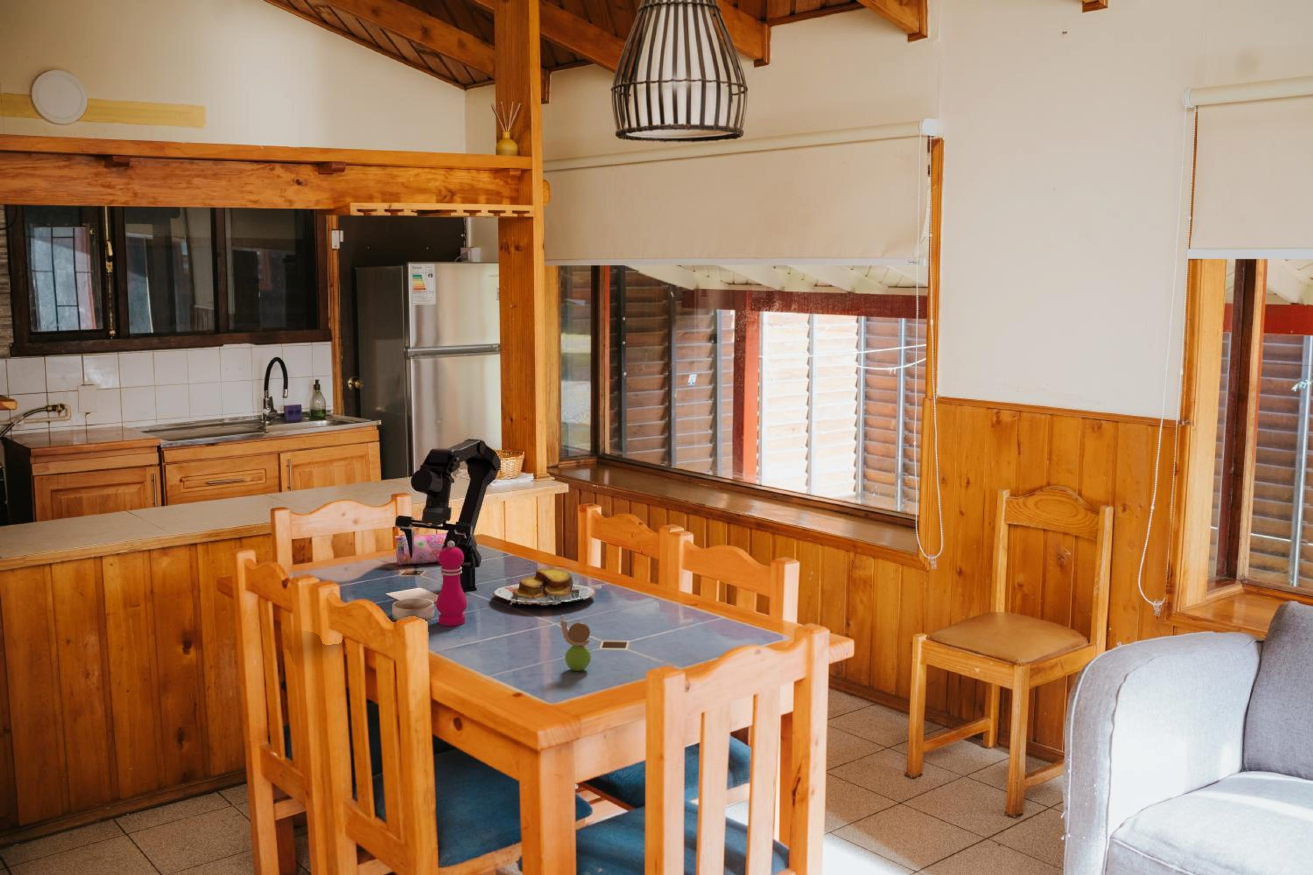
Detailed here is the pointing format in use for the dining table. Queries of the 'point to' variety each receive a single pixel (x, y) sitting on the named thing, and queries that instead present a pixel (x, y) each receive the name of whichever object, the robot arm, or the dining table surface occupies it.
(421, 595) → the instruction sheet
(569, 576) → the food on plate
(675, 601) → the dining table surface
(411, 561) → the pencil case
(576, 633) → the snail figurine
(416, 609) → the round bowl
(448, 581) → the pepper mill
